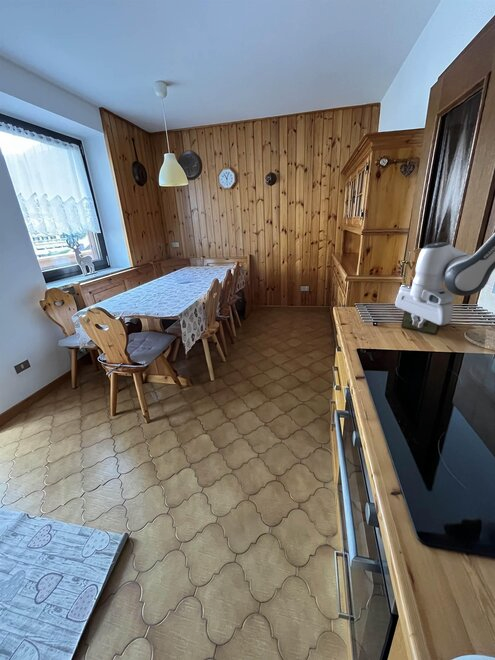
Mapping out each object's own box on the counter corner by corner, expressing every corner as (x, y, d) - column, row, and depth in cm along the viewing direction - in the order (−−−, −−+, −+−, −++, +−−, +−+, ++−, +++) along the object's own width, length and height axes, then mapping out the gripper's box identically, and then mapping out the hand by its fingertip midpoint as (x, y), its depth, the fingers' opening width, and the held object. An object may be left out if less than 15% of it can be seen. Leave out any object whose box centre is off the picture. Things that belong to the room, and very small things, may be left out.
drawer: (433, 338, 107) (438, 319, 104) (399, 330, 114) (403, 312, 110) (440, 320, 119) (445, 303, 116) (409, 314, 126) (413, 298, 122)
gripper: (394, 284, 106) (388, 317, 112) (446, 301, 89) (435, 340, 95) (407, 281, 108) (400, 314, 114) (460, 298, 91) (449, 335, 97)
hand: (417, 326), depth 104 cm, fingers closed
